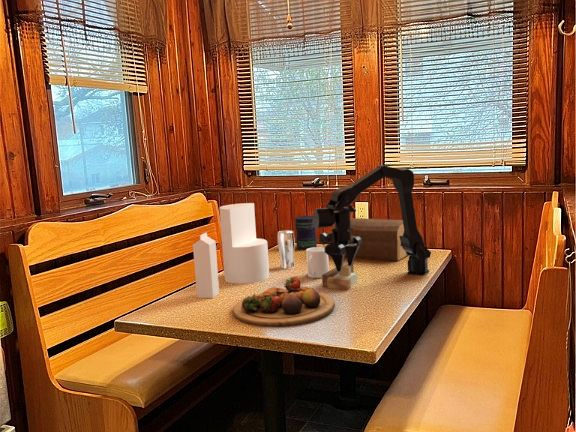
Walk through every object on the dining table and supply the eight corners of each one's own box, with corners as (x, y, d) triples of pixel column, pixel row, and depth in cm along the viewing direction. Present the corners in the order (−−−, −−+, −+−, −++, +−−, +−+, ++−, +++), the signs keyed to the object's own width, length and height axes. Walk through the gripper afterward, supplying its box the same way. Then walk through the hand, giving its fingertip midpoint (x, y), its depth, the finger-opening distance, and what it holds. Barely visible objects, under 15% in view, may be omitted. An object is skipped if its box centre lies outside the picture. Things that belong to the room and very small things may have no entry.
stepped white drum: (215, 281, 215) (210, 209, 211) (240, 270, 230) (235, 202, 226) (254, 285, 207) (249, 209, 203) (277, 273, 222) (273, 203, 218)
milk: (197, 298, 195) (191, 235, 192) (203, 292, 201) (198, 232, 198) (213, 298, 194) (208, 235, 190) (219, 293, 199) (214, 231, 196)
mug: (318, 281, 207) (317, 254, 206) (299, 279, 211) (297, 252, 210) (332, 273, 217) (331, 247, 216) (313, 272, 222) (312, 246, 220)
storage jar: (317, 249, 262) (316, 218, 260) (296, 251, 262) (295, 219, 260) (316, 245, 272) (314, 215, 270) (296, 246, 272) (294, 216, 270)
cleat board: (373, 274, 213) (372, 262, 212) (348, 289, 194) (347, 277, 194) (348, 272, 218) (348, 261, 218) (322, 287, 200) (322, 274, 199)
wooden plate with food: (269, 291, 199) (267, 269, 197) (351, 300, 182) (350, 275, 181) (212, 322, 172) (209, 295, 171) (303, 335, 155) (301, 306, 154)
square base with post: (357, 282, 204) (356, 265, 203) (348, 287, 198) (348, 269, 197) (342, 281, 207) (341, 263, 206) (333, 286, 201) (332, 268, 200)
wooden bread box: (351, 248, 261) (350, 214, 259) (413, 253, 245) (412, 216, 243) (333, 257, 246) (331, 220, 244) (397, 262, 230) (396, 223, 228)
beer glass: (276, 269, 229) (274, 233, 227) (283, 265, 236) (281, 230, 234) (292, 270, 227) (290, 233, 225) (298, 265, 233) (296, 230, 231)
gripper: (333, 220, 211) (335, 260, 213) (309, 228, 195) (312, 272, 198) (361, 221, 205) (362, 263, 208) (339, 230, 189) (340, 275, 192)
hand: (344, 268), depth 201 cm, fingers open, 9 cm apart
